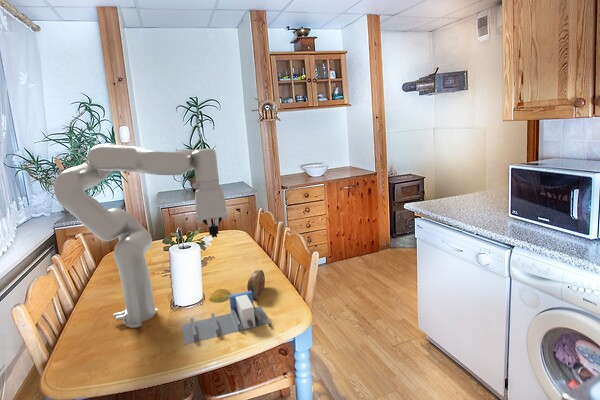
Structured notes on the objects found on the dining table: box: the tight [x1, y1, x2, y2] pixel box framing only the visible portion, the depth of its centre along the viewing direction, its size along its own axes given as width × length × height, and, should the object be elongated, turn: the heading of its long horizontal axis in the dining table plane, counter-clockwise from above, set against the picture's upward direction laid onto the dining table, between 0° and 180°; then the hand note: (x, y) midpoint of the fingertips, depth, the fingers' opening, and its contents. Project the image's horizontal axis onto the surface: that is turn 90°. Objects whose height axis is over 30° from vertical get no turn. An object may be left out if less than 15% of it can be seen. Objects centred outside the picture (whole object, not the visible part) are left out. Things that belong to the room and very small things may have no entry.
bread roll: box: [208, 288, 232, 303], centre depth 153 cm, size 8×9×4 cm
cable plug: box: [235, 294, 255, 330], centre depth 132 cm, size 4×14×7 cm, turn 21°
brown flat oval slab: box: [246, 269, 266, 300], centre depth 156 cm, size 15×3×8 cm, turn 168°
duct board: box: [181, 290, 272, 346], centre depth 132 cm, size 28×13×8 cm, turn 110°
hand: (214, 236), depth 138 cm, fingers closed
